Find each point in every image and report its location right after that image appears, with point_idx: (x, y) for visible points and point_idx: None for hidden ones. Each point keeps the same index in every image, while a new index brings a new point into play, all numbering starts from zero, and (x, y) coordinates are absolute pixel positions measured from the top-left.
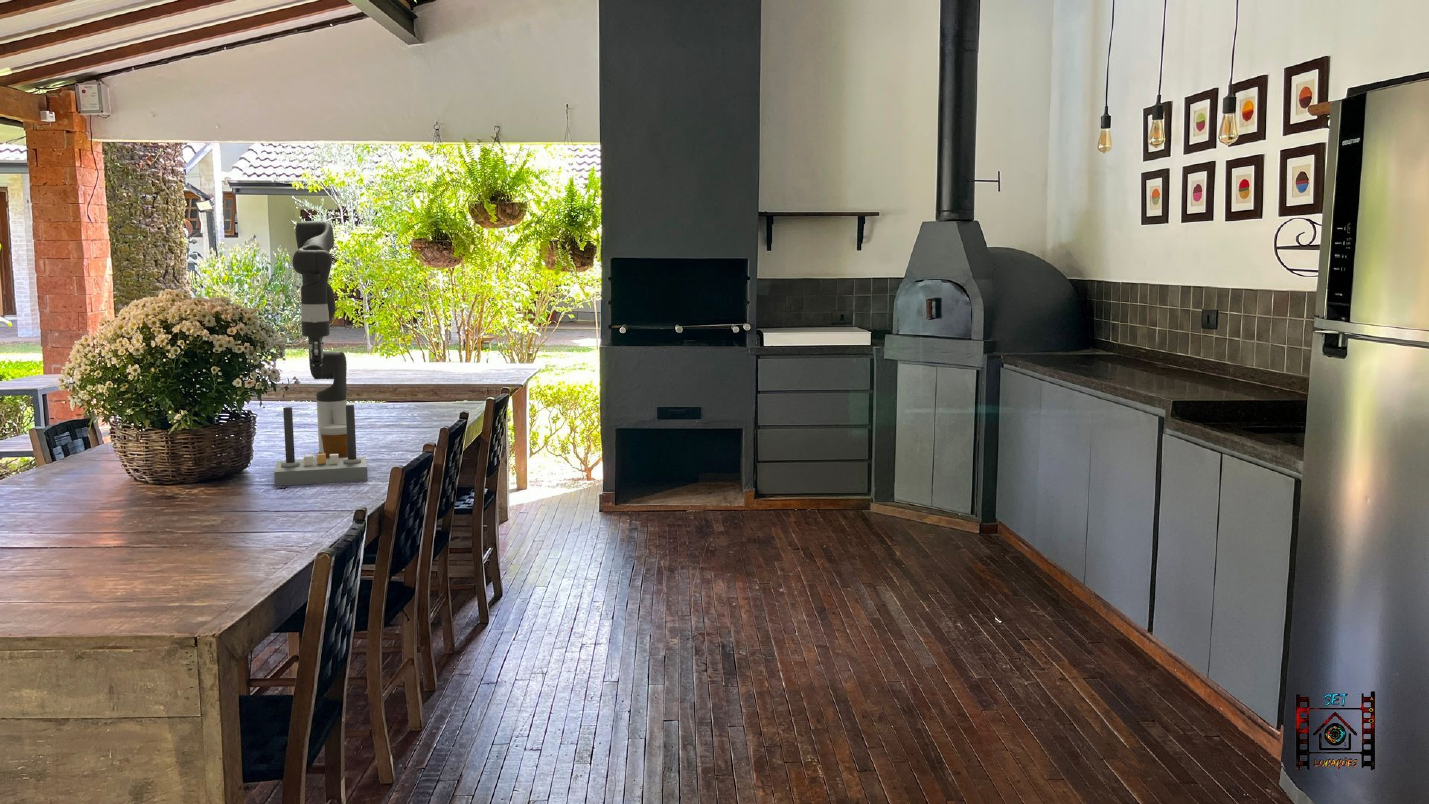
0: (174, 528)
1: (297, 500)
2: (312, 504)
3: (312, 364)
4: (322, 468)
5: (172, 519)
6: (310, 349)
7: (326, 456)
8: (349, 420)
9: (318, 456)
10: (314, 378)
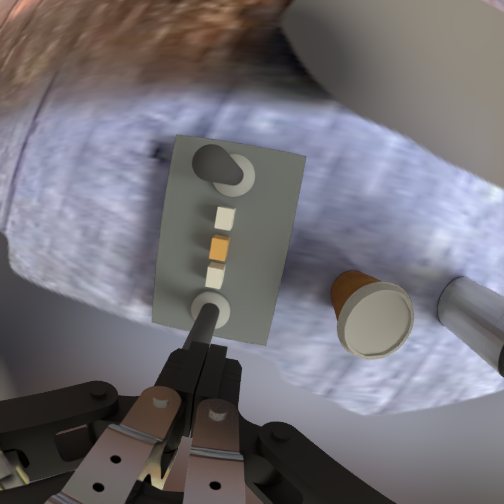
0: (23, 42)
1: (62, 173)
2: (35, 193)
3: (153, 395)
4: (168, 237)
5: (56, 26)
6: (61, 495)
7: (350, 275)
8: None
9: (212, 240)
10: (193, 342)
